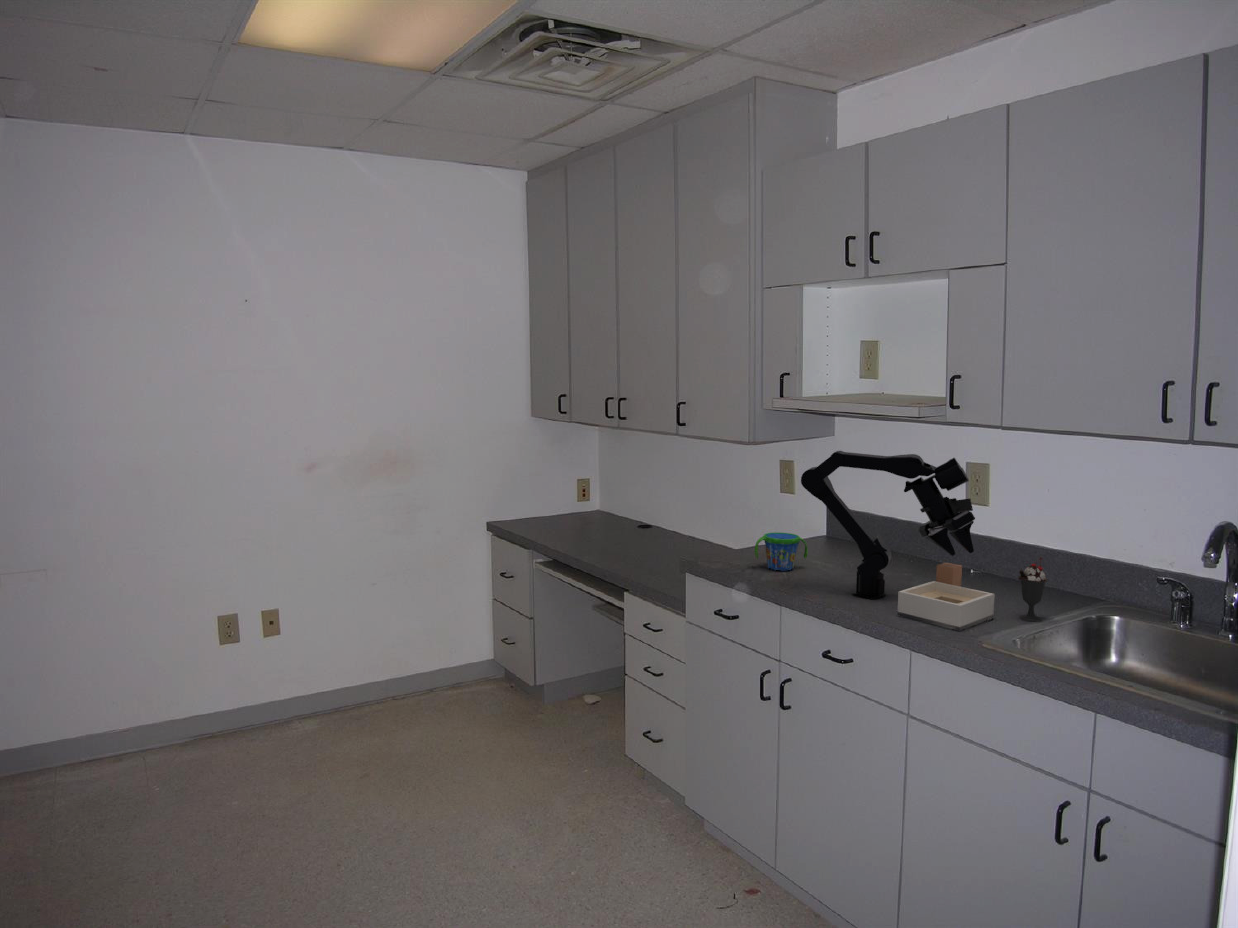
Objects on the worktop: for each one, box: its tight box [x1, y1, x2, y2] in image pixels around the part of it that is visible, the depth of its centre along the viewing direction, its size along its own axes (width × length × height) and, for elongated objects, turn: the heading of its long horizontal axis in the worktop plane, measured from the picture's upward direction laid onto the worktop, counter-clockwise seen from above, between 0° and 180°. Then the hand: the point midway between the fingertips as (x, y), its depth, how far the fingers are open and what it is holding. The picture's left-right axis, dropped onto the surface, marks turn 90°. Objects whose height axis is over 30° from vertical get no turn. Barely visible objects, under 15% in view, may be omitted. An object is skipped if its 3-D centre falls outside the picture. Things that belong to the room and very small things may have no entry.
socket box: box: [896, 580, 996, 632], centre depth 210 cm, size 16×16×6 cm
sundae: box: [1017, 557, 1049, 623], centre depth 208 cm, size 7×7×15 cm
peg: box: [935, 562, 963, 587], centre depth 226 cm, size 4×4×9 cm
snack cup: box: [754, 531, 809, 572], centre depth 258 cm, size 16×10×10 cm
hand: (962, 553), depth 219 cm, fingers open, 9 cm apart
